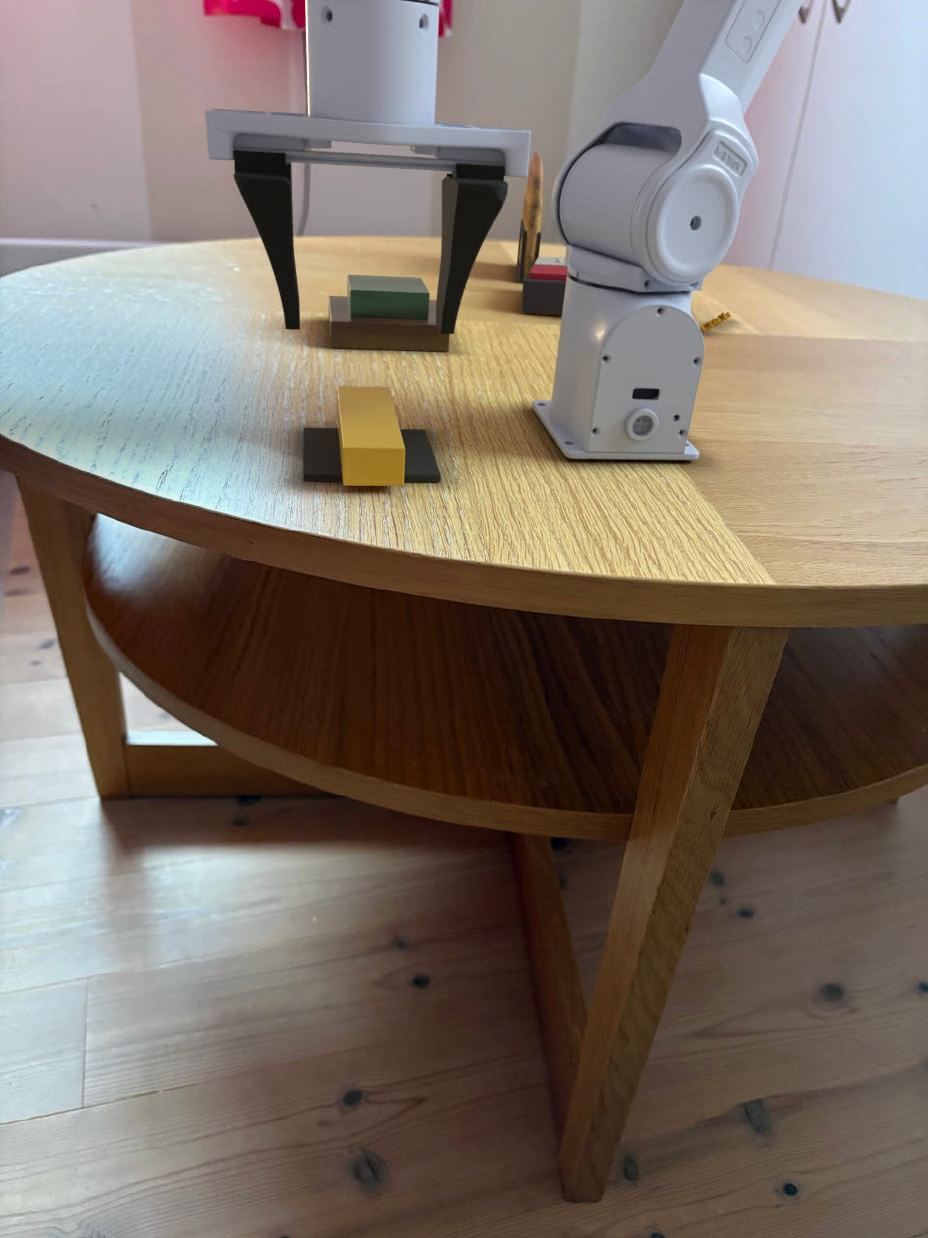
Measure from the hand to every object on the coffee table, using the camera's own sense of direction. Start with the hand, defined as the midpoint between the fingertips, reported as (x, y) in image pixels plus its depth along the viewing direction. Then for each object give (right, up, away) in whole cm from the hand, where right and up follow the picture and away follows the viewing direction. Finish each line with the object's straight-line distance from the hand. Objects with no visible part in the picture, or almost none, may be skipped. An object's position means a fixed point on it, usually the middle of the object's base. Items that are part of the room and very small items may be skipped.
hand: (369, 327), depth 45 cm
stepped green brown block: (-1, +8, +27) cm, 28 cm away
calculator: (+18, +15, +41) cm, 47 cm away
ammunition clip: (+12, +24, +55) cm, 61 cm away
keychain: (+28, +12, +38) cm, 48 cm away
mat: (0, -6, +3) cm, 7 cm away
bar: (0, -6, +3) cm, 6 cm away
